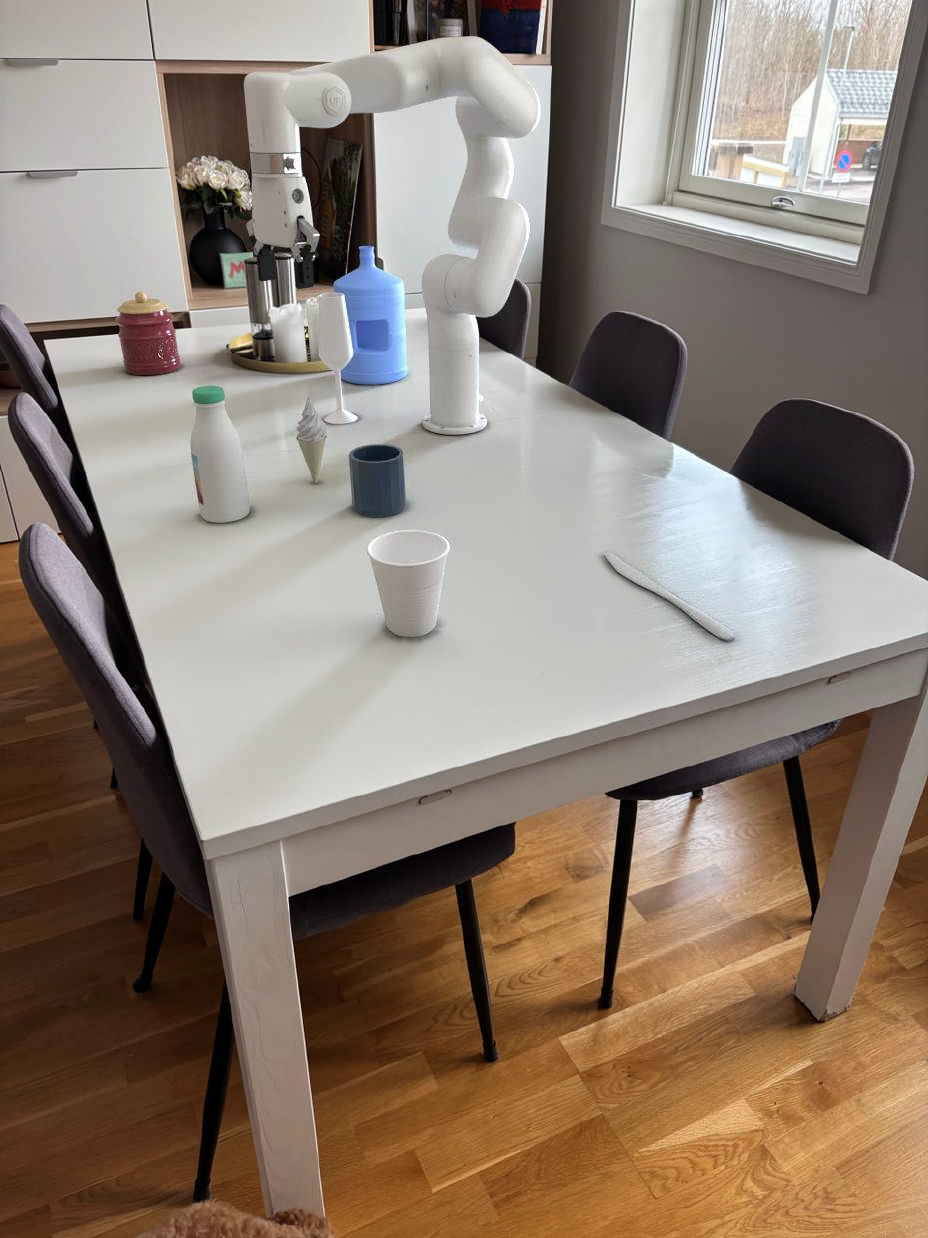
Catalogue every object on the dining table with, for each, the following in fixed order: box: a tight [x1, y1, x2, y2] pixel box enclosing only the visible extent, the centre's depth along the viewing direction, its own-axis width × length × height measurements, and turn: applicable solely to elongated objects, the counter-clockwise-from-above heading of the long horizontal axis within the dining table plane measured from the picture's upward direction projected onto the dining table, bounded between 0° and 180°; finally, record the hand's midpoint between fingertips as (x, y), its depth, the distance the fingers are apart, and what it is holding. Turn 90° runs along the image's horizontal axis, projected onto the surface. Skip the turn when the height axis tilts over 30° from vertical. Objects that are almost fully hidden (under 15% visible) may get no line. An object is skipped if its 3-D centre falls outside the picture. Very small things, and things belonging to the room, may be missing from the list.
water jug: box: [332, 245, 408, 386], centre depth 212 cm, size 16×16×28 cm
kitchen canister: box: [114, 291, 181, 376], centre depth 222 cm, size 13×13×18 cm
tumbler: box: [348, 443, 407, 518], centre depth 150 cm, size 8×8×9 cm
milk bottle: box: [189, 385, 251, 524], centre depth 145 cm, size 8×8×20 cm
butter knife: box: [604, 552, 736, 641], centre depth 125 cm, size 1×27×3 cm
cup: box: [365, 529, 450, 638], centre depth 116 cm, size 10×10×11 cm
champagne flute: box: [318, 292, 358, 425], centre depth 186 cm, size 7×7×24 cm
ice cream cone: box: [295, 395, 328, 484], centre depth 158 cm, size 5×5×15 cm
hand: (286, 283), depth 152 cm, fingers open, 9 cm apart
